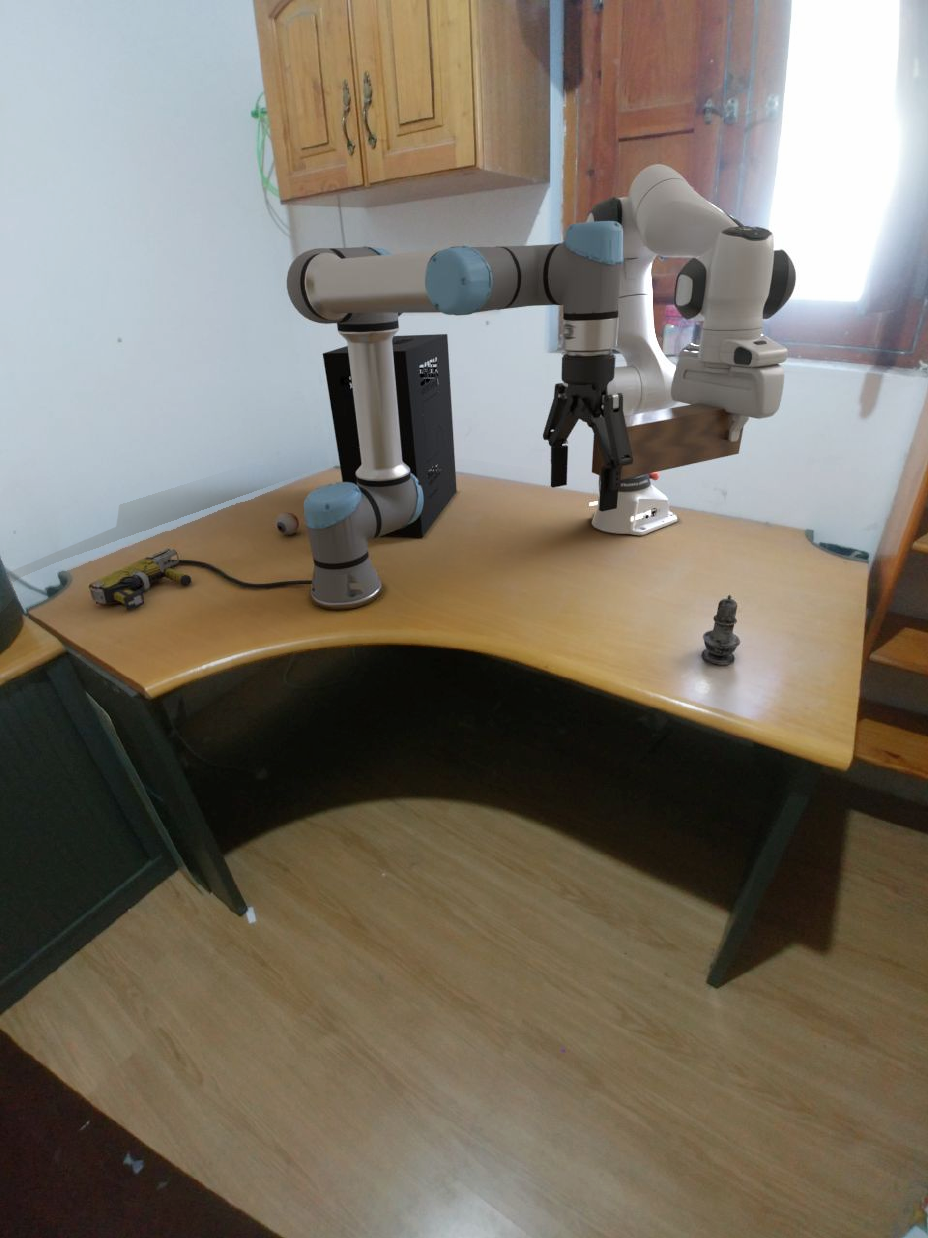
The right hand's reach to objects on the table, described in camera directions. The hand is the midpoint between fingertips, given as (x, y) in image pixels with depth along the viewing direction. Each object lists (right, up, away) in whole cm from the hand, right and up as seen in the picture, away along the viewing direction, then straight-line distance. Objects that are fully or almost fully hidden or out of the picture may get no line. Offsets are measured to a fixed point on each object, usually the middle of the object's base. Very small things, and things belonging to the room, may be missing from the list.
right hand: (714, 436), depth 102 cm
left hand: (-24, -12, -7) cm, 27 cm away
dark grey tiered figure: (+1, -38, +2) cm, 38 cm away
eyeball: (-91, -8, +63) cm, 110 cm away
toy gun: (-114, -24, +38) cm, 122 cm away
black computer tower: (-59, 0, +74) cm, 94 cm away
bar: (-9, -5, -2) cm, 10 cm away
